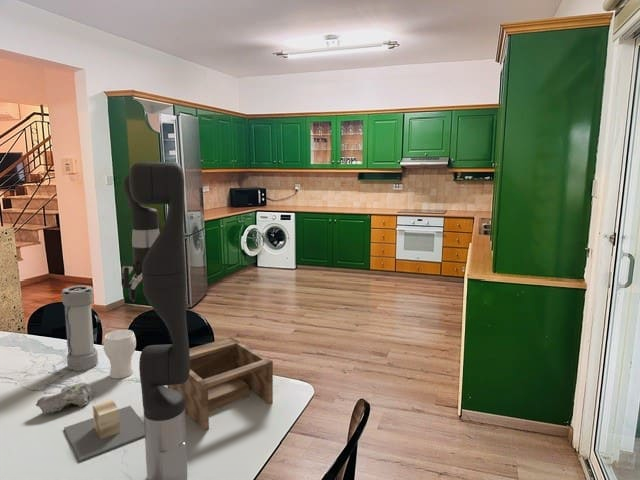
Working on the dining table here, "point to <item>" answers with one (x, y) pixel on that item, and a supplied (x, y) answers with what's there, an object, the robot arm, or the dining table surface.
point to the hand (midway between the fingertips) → (149, 298)
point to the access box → (224, 378)
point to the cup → (120, 352)
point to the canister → (79, 327)
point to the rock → (66, 398)
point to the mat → (92, 445)
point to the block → (106, 418)
